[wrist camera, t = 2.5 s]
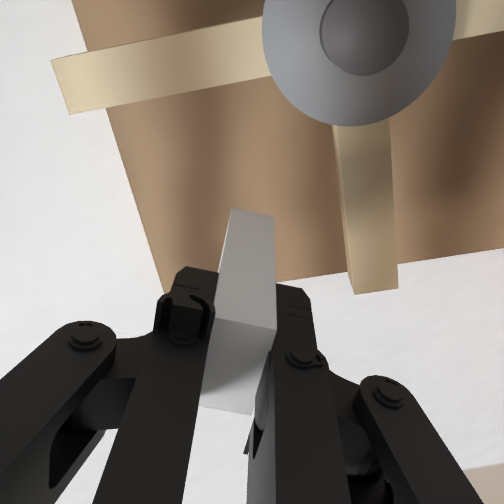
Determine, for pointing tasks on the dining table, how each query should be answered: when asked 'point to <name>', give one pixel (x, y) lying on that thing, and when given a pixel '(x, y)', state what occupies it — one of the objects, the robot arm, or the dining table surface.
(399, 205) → the stand
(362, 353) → the dining table surface
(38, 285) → the dining table surface
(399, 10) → the capstan
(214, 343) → the robot arm
